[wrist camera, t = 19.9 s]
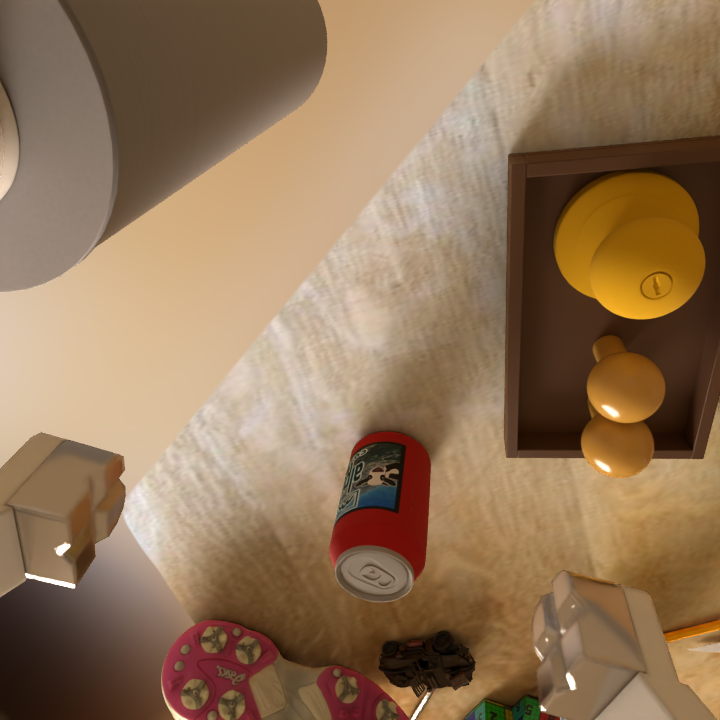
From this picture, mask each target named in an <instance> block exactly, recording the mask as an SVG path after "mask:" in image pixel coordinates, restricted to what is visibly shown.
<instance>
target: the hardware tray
mask: <svg viewBox="0 0 720 720" xmlns="http://www.w3.org/2000/svg"><path fill="white" fill-rule="evenodd" d="M625 169H648V170H653V171H656V172H660V173H662V174H664V175H666V176H668V177H670V178H672V179H673V180H674V181H676V182H677V183H678V184H679V185H681V186H682V187H683V188H684V189H685V190H686V191H687V192H688V193H689V195H690V196H691V198H692V199H693V201H694V203H695V206H696V208H697V211H698V216H699V235H698V238H699V240H700V242H701V244H702V246H703V249H704V253H705V270H704V275H703V278H702V280H701V283H700V285H699V286H698V288H697V290H696V291H695V293H694V294H693V295H692V297H691V298H690V299H689V300H688V301H687V302H686V303H684V304H683V305H682V306H681V307H679V308H678V309H676V310H674V311H672V312H670V313H668V314H666V315H663V316H660V317H656V318H651V319H630V318H625V317H622V316H619V315H617V314H614V313H612V312H611V311H609V310H608V309H606V308H605V307H604V306H603V305H602V304H601V303H600V302H599V301H598V300H597V299H595V298H592V297H589V296H587V295H585V294H583V293H581V292H579V291H578V290H576V289H575V288H574V287H573V286H571V285H570V284H569V283H568V281H567V280H566V279H565V278H564V276H563V275H562V273H561V271H560V269H559V267H558V264H557V261H556V258H555V254H554V247H553V239H554V232H555V228H556V224H557V221H558V219H559V217H560V215H561V213H562V211H563V209H564V208H565V206H566V205H567V203H568V202H569V201H570V200H571V199H572V197H573V196H574V195H575V194H576V193H577V192H578V191H580V190H581V189H582V188H583V187H585V186H586V185H587V184H589V183H590V182H592V181H593V180H595V179H597V178H599V177H601V176H604V175H606V174H609V173H612V172H615V171H619V170H625ZM607 335H613V336H617V337H619V338H620V339H621V340H622V341H623V343H624V345H625V347H626V349H627V352H634V353H638V354H641V355H643V356H645V357H647V358H649V359H650V360H651V361H653V362H654V363H655V364H656V365H657V366H658V368H659V369H660V371H661V372H662V374H663V377H664V380H665V386H666V390H665V397H664V400H663V402H662V404H661V406H660V407H659V409H658V410H657V411H656V412H655V413H654V414H653V415H651V416H650V417H648V418H647V419H644V420H643V421H644V422H645V423H646V425H647V426H648V427H649V429H650V431H651V433H652V435H653V439H654V454H653V457H652V459H703V458H704V454H705V450H706V446H707V442H708V438H709V434H710V430H711V426H712V422H713V419H714V415H715V411H716V407H717V403H718V399H719V395H720V135H719V136H708V137H697V138H686V139H674V140H663V141H652V142H641V143H630V144H619V145H607V146H596V147H585V148H574V149H563V150H552V151H541V152H529V153H518V154H509V155H508V206H507V273H506V339H505V406H504V440H505V450H506V457H507V458H517V457H518V458H585V457H584V454H583V452H582V448H581V436H582V432H583V430H584V428H585V426H586V424H587V423H588V422H589V421H590V420H591V419H592V418H591V414H590V411H589V408H588V405H587V399H588V394H587V380H588V376H589V374H590V372H591V370H592V368H593V367H594V366H595V364H596V363H597V361H596V359H595V356H594V353H593V346H594V344H595V342H596V341H597V340H598V339H599V338H601V337H603V336H607Z"/></svg>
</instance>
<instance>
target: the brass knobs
mask: <svg viewBox="0 0 720 720" xmlns="http://www.w3.org/2000/svg"><path fill="white" fill-rule="evenodd" d="M593 353H594V356H595V359H596V361H597V363H596V364H595V366H594V367H593V368H592V370H591V372H590V374H589V376H588V380H587V394H588V399H587V405H588V408H589V411H590V414H591V418H592V419H591V420H590V421H589V422H588V423H587V424H586V426H585V428H584V430H583V432H582V436H581V448H582V452H583V454H584V457H585V459H586V460H587V462H588V463H589V464H590V465H591V466H592V467H593V468H594V469H595V470H597V471H598V472H600V473H602V474H604V475H606V476H610V477H615V478H625V477H630V476H633V475H636V474H638V473H639V472H641V471H642V470H643V469H645V468H646V467H647V465H648V464H649V463H650V461H651V459H652V457H653V454H654V439H653V435H652V433H651V431H650V429H649V427H648V426H647V425H646V423H645V422H644V421H643V420H644V419H647V418H648V417H650V416H651V415H653V414H654V413H655V412H656V411H657V410H658V409H659V407H660V406H661V404H662V402H663V400H664V397H665V390H666V386H665V380H664V377H663V374H662V372H661V371H660V369H659V368H658V366H657V365H656V364H655V363H654V362H653V361H651V360H650V359H649V358H647V357H645V356H643V355H641V354H638V353H634V352H627V349H626V347H625V345H624V343H623V341H622V340H621V339H620V338H619V337H617V336H613V335H607V336H603V337H601V338H599V339H598V340H597V341H596V342H595V344H594V346H593Z"/></svg>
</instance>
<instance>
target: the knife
mask: <svg viewBox="0 0 720 720" xmlns="http://www.w3.org/2000/svg"><path fill="white" fill-rule="evenodd" d="M687 650H691V651H699V652H720V642H719V643H714V644H709V645H705V646H700V647H695V648H690V649H687Z"/></svg>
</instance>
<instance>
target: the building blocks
mask: <svg viewBox="0 0 720 720" xmlns="http://www.w3.org/2000/svg"><path fill="white" fill-rule="evenodd" d="M464 720H561V719H560V717H557V716H554V715H550V714H547V713H543V712H540V706H539V699H536V698H533V697H530V696H527V695H526V696H525V697H524V698H523V699H522V700H521V701H520V702H518V703H517V704H516V705H515V706H514V707H513V708H509V707H507V706H504V705H501V704H498V703H495V702H492V701H489V700H486V699H484V700H483V701H482V702H481V703H480V704H479V705H478V706H477V707H476V708H475V709H474V710H473V711H472V712H471V713H470V714H469V715H468V716H467V717H466V718H465V719H464Z"/></svg>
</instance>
